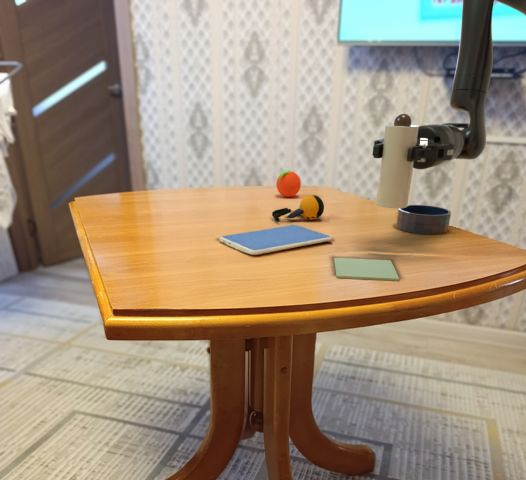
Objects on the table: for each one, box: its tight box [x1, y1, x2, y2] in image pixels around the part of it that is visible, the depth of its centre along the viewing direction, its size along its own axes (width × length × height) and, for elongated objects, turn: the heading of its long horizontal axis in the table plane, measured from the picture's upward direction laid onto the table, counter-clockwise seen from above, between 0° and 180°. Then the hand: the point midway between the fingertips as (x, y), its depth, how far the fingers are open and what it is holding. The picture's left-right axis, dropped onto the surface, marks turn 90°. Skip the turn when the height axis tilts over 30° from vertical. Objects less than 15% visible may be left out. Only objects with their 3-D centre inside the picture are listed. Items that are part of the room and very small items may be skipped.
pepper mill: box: [375, 113, 420, 210], centre depth 87 cm, size 5×5×15 cm
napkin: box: [333, 257, 400, 282], centre depth 86 cm, size 10×10×1 cm
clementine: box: [275, 170, 302, 198], centre depth 142 cm, size 8×7×7 cm
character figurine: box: [271, 194, 325, 222], centre depth 119 cm, size 10×6×12 cm
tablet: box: [219, 224, 333, 256], centre depth 100 cm, size 19×13×1 cm, turn 125°
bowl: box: [395, 204, 452, 235], centre depth 111 cm, size 11×11×4 cm
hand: (392, 153), depth 84 cm, fingers closed on pepper mill, 5 cm apart
